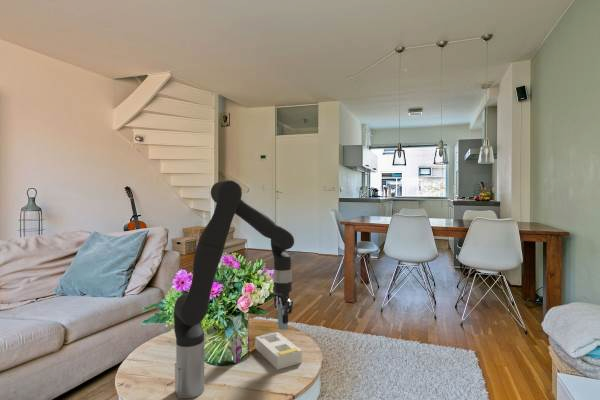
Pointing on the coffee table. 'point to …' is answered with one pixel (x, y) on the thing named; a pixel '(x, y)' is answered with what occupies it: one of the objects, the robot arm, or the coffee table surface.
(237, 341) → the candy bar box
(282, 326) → the blue-grey upright block
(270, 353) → the socket board
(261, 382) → the coffee table surface
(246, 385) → the coffee table surface
